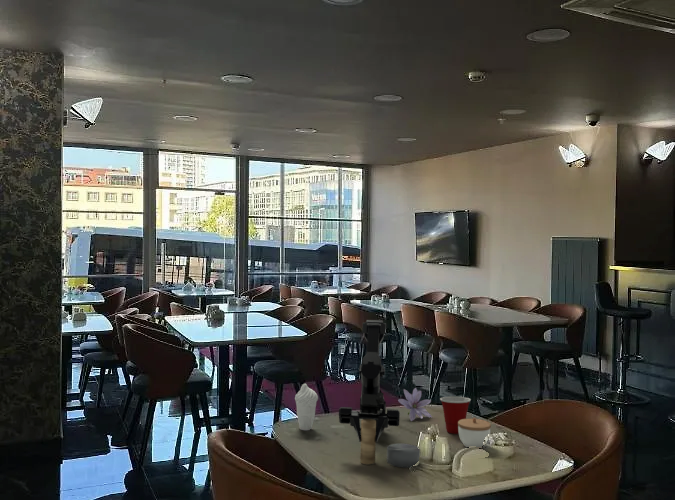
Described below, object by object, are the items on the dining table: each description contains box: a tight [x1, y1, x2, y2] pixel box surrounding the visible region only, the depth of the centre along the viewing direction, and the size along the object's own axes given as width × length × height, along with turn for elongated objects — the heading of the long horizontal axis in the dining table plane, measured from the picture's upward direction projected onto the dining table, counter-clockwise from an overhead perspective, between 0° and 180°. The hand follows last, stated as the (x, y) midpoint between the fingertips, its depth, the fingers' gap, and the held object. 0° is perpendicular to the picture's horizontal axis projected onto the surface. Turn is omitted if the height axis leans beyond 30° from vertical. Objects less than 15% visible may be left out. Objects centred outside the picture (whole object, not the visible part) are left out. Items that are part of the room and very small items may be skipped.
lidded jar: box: [458, 417, 492, 448], centre depth 213 cm, size 11×11×9 cm
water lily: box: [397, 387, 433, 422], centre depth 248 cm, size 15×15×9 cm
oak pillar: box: [359, 419, 377, 465], centre depth 195 cm, size 4×4×12 cm
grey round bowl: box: [386, 442, 421, 468], centre depth 196 cm, size 10×10×4 cm
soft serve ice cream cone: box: [294, 383, 319, 431], centre depth 228 cm, size 8×8×16 cm
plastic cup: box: [439, 396, 472, 435], centre depth 229 cm, size 11×11×12 cm
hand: (368, 441), depth 194 cm, fingers closed on oak pillar, 4 cm apart
